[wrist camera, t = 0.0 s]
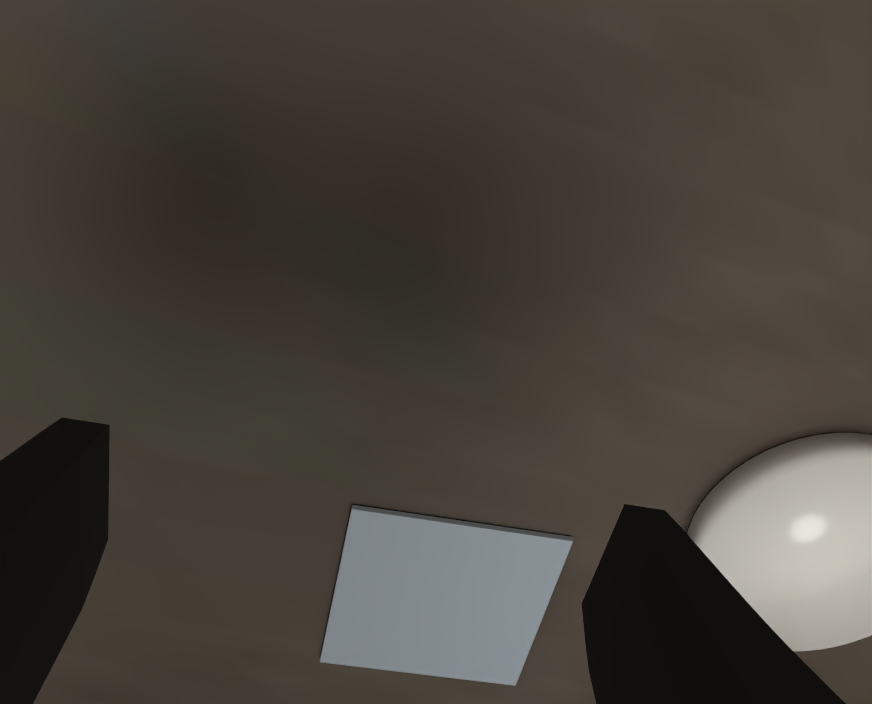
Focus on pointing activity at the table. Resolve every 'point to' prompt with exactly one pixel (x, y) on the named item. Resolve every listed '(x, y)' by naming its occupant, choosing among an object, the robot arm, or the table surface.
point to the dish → (798, 537)
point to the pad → (440, 595)
